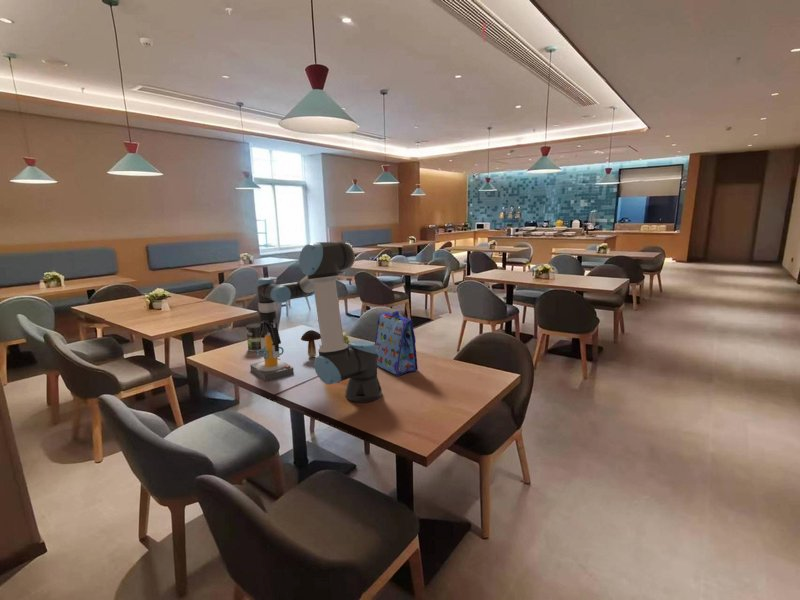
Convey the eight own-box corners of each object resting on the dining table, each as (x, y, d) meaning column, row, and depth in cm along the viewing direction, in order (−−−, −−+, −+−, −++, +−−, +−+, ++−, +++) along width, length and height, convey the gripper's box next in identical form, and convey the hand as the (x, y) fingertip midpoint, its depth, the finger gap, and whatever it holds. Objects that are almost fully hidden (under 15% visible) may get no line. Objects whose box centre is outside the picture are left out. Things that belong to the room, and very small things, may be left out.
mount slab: (293, 373, 191) (293, 366, 191) (265, 381, 182) (264, 373, 182) (277, 363, 205) (277, 356, 204) (250, 370, 196) (250, 363, 195)
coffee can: (252, 353, 221) (250, 328, 218) (245, 348, 228) (243, 324, 225) (270, 348, 227) (268, 325, 225) (262, 344, 235) (260, 321, 232)
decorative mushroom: (301, 361, 207) (300, 333, 204) (301, 354, 218) (300, 328, 215) (323, 359, 210) (322, 332, 207) (322, 352, 220) (321, 326, 217)
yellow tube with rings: (275, 370, 186) (272, 339, 183) (254, 368, 188) (252, 338, 185) (287, 361, 198) (285, 332, 195) (268, 359, 200) (266, 330, 197)
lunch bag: (418, 370, 195) (418, 313, 189) (396, 377, 187) (395, 317, 181) (392, 358, 212) (392, 305, 206) (370, 363, 204) (369, 309, 198)
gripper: (286, 314, 180) (289, 358, 185) (264, 305, 199) (267, 345, 203) (270, 316, 176) (273, 362, 180) (249, 307, 194) (253, 349, 199)
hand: (270, 353), depth 192 cm, fingers open, 13 cm apart
